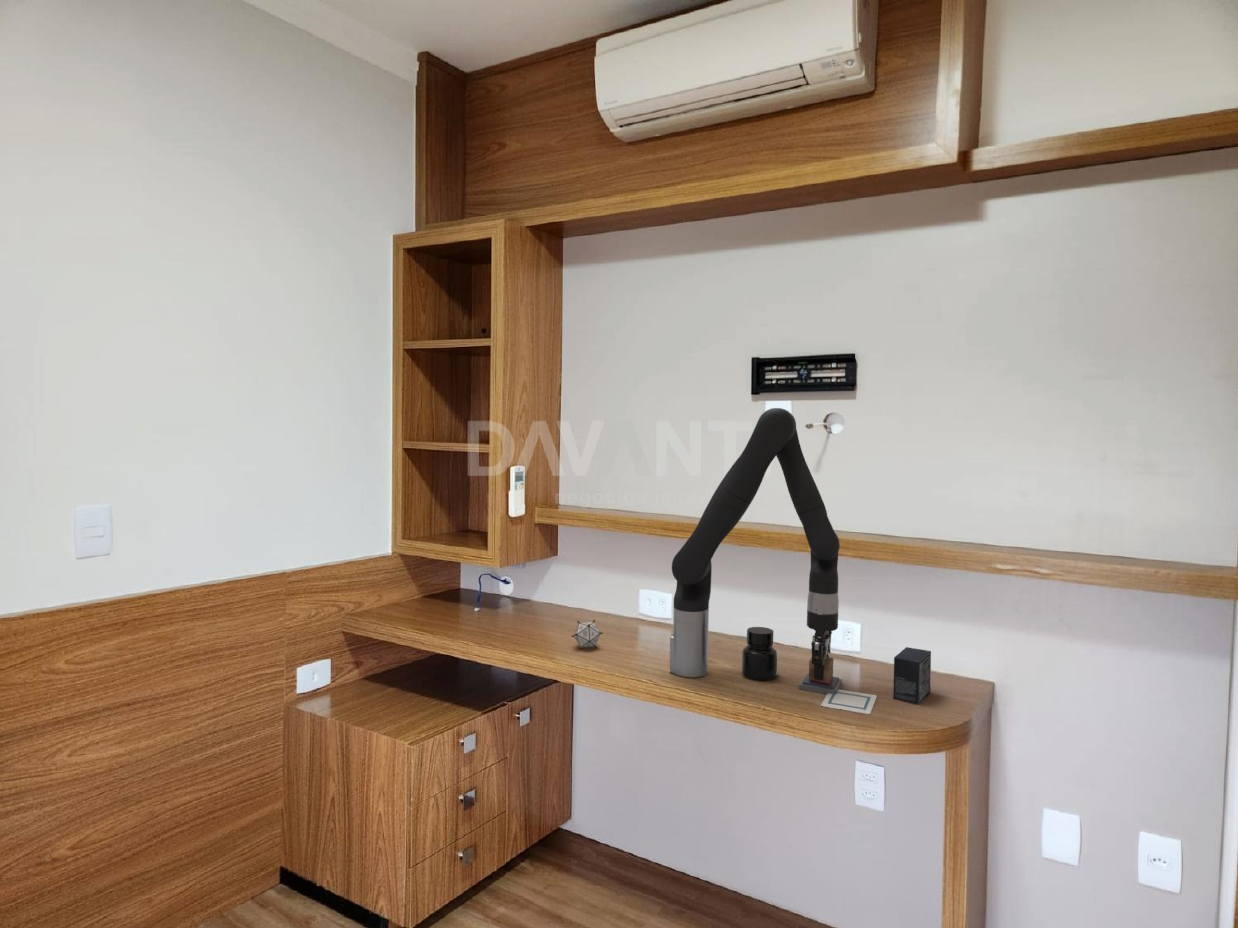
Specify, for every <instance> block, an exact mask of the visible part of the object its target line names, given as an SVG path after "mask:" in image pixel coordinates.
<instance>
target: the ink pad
mask: <svg viewBox="0 0 1238 928" xmlns="http://www.w3.org/2000/svg"><path fill="white" fill-rule="evenodd" d="M842 686H843V679H842V678H840V677H837V676H833V678H832V680H831V681H830V683H823V682H817V681H811V680H809V672H808V673H806V674H805V676H804V677H803V678H802V680H801V681H800V682H799V683H798V690H800V691H801V690H802V691H806V690H807V692H813V693H819V692H820V693H821V694H825V695H827V694H828V693H830V694H837V692H838V690H839V689H840V690H841V687H842Z"/></svg>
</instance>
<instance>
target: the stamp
mask: <svg viewBox="0 0 1238 928" xmlns="http://www.w3.org/2000/svg"><path fill="white" fill-rule="evenodd" d="M823 652H824V651H823ZM816 659H819V660H820V657H818V656H817V657H816ZM808 663H809V664H808V673H809V680H811V681H817V682H823V683H830V681H831V680H832V678H833V677H834V657H831V656H829V657H827V656H825V659H824V673H823V680H816V679H814V664H812V657H810V659H809V662H808Z"/></svg>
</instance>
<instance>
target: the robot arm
mask: <svg viewBox="0 0 1238 928" xmlns="http://www.w3.org/2000/svg"><path fill="white" fill-rule="evenodd" d="M775 458H777V460H778V463H779V464H780V468H781V470H782V474H783V477H784V480H785V484H786V487H787V491H788V493H789V497H790V500H791V502H792V504H793V507H794V510H795V512H796V515H797V516H798V519H799V521H800V523H801V525H802V527H803V531H804V535H805V538H806V541H807V543H808V546H809V549H810V569H809V579H808V595H807V606H806V626H807V628H809V629H811V630H814V631H815V632H814V635H812V638H811V639H812V641H811V645H810V646H811V658H812V664H814V679H816V680H823V673H824V659H825V656H827V657H830V654H831V648H832V647H831V644H832V633H833V632H834V631H836V630H837V629H838V628H839V607H840V606H839V603H840V601H839V572H838V563H839V551H840V549H841V548H840V539H839V536H838V534H837V533H836V532H835V530H834V527H833V526H832V523H831V522H830V521H831V520H830V519H829V516H828V512H827V511H828V510H827V508H826V505H825V503H824V500H823V497H822V495H821V493H820V491H819V488H818V486H817V484H816V482H815V480H814V478H813V475H812V473H811V471H810V469H809V466H808V464H807V461H806V459H805V456H804V454H803V450H802V447H801V444H800V440H799V433H798V430H797V423H796V419H795V417H794V416H793V414H792V413H791V412H790V411H789V410H787V409H784V408H779V407H775V408H769V409H767V410H765V411H764V412H762V414H761V415H760V416H759V418H758V420H757V422H756V424H755V427H754V429H753V431H752V434H751V435H750V438H749V439H748V441H747V444H746V446H745V447H744V449H743V450H742V452H741V454H740V455H739V457H738V458H737V459H736V460H735V461H734V463H733V464H732V465H731V466H730V468H729V470H728V471H727V472H726V474H725V475H724V477H723V478H722V480H721V481H720V483H719V484H718V486H717V487H716V489H715V491H714V493H713V494H712V496H711V498H710V500H709V502H708V503H707V505H706V507H705V509H704V510H703V513H702V515H701V517H700V519H699V521H698V523H697V525H696V526H695V529H694V530H693V532H692V533H691V535H690V536H689V538H688V539H687V540H686V542H685V543H684V544H683V546H681V548H680V549H679V550H678V551H677V553H676V554H675V555H674V556H673V559H672V562H671V573H672V576H673V577H674V579H675V580H676V587H675V588H676V590H675V594H674V597H673V618H672V620H673V621H672V623H673V625H672V626H673V628H672V629H673V630H672V631H673V634H672V635H671V636H670V640H669V641H670V642H669V673H673V674H675V675H677V676H680V677H685V678H700V677H704V676H706V675H707V674H708V671H709V670H708V666H709V659H708V658H709V624H710V623H709V621H710V620H709V619H710V617H709V616H710V614H709V611H710V610H709V609H710V598H711V593H712V592H711V591H712V590H711V589H712V571H713V570H712V568H713V567H712V559H713V557H714V555H715V553H716V551H717V549H718V547H719V546H720V545H721V543H722V542H723V541H724V539H725V538H727V536H729V534H730V533H731V532H732V530H733V529H734V528H735V527H736V525H737V524H738V523H739V521H741V519H742V517H743V516H744V515H745V513H746V512H747V510H748V509H749V507H750V505H751V504H752V502H753V500H754V498H755V496H756V495H757V493H758V491H759V489H760V487H761V484H762V482H763V479H764V477H765V474H766V472H767V470H768V468H769V467H770V465H771V463H772V462H773V460H774V459H775ZM823 651H824V652H823ZM817 656H818V657H820V660H819V659H816V657H817Z"/></svg>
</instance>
